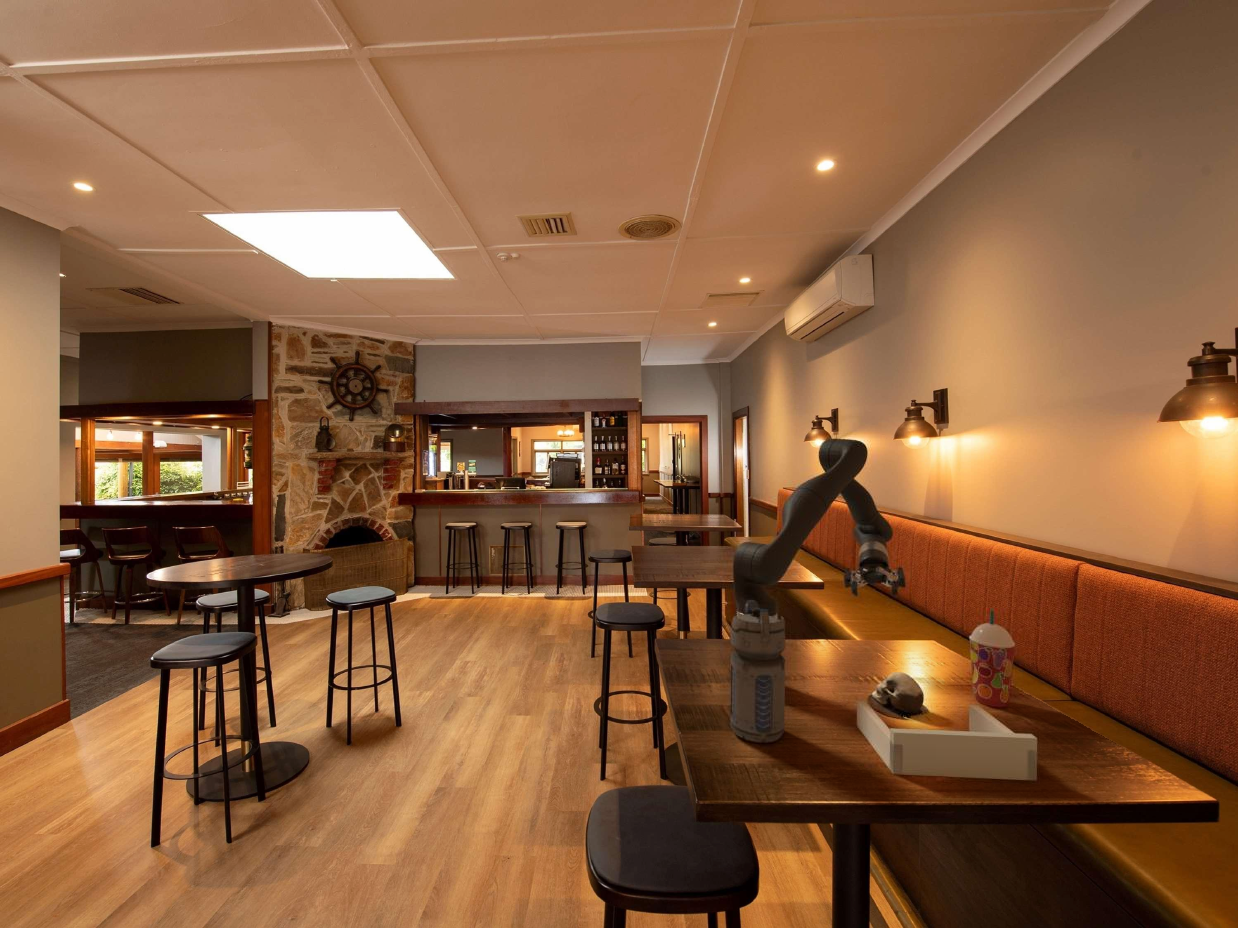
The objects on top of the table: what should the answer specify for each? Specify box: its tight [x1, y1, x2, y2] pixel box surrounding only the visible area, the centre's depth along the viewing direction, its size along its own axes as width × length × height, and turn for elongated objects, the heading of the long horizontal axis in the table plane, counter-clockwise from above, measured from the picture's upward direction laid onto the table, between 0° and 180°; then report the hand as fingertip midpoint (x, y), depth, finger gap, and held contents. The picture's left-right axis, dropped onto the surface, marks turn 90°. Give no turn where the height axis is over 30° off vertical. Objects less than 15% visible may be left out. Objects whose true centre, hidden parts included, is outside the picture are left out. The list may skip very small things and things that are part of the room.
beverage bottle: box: [729, 600, 786, 744], centre depth 110 cm, size 10×13×25 cm
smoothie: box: [968, 610, 1016, 708], centre depth 124 cm, size 8×8×20 cm
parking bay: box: [856, 700, 1038, 782], centre depth 103 cm, size 23×18×7 cm
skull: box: [866, 671, 930, 721], centre depth 121 cm, size 12×10×10 cm
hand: (874, 593), depth 140 cm, fingers open, 8 cm apart
